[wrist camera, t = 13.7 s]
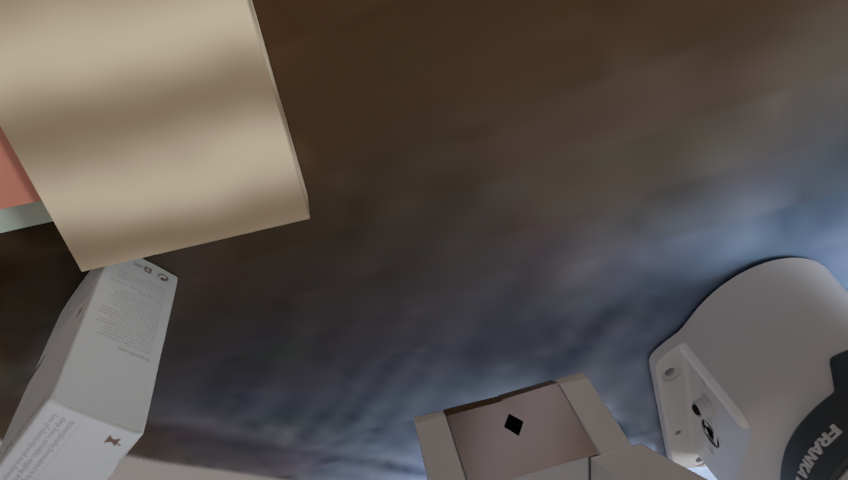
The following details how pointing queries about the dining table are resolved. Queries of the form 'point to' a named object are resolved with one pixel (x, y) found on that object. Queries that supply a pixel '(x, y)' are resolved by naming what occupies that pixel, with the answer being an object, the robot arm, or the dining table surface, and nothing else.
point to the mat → (23, 216)
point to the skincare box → (92, 377)
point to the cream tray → (147, 123)
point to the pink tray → (13, 178)
